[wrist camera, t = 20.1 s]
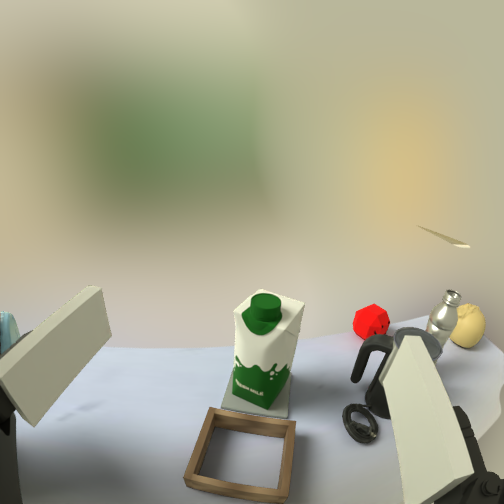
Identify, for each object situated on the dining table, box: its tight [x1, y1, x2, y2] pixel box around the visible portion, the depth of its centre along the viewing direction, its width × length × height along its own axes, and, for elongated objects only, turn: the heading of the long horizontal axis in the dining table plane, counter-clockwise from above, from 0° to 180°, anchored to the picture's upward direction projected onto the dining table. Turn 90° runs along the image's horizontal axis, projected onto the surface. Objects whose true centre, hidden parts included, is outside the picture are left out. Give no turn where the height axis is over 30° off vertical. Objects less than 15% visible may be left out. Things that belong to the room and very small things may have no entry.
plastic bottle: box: [425, 289, 461, 366], centre depth 45 cm, size 6×7×20 cm
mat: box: [221, 367, 291, 419], centre depth 45 cm, size 11×11×1 cm
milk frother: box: [342, 327, 443, 443], centre depth 37 cm, size 14×16×15 cm
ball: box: [353, 304, 390, 340], centre depth 61 cm, size 8×8×8 cm
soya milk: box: [232, 289, 305, 410], centre depth 41 cm, size 9×9×20 cm
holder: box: [183, 407, 296, 504], centre depth 31 cm, size 13×13×4 cm
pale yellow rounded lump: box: [450, 303, 485, 348], centre depth 56 cm, size 11×12×11 cm
